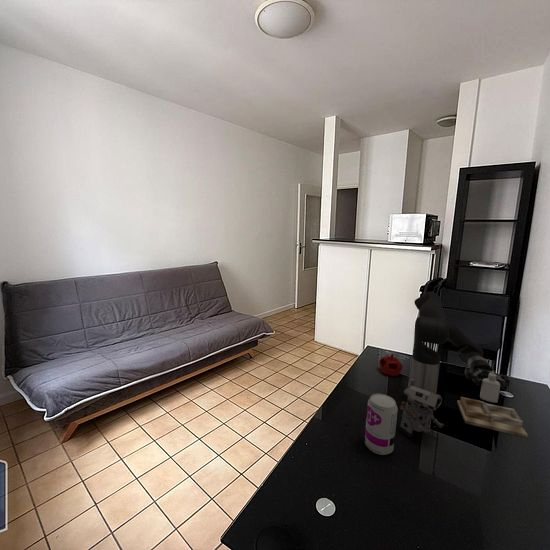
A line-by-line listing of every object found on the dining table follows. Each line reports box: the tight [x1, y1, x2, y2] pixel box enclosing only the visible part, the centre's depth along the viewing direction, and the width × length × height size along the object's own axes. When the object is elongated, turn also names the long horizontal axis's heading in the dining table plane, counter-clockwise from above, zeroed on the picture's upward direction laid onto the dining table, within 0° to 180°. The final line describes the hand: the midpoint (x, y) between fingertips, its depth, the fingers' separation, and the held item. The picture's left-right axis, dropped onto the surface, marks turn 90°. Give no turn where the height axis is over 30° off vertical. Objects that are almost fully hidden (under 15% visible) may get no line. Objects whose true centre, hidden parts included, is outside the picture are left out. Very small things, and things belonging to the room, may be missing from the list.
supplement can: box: [364, 393, 399, 456], centre depth 85 cm, size 8×8×15 cm
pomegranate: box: [378, 353, 404, 377], centre depth 131 cm, size 10×10×9 cm
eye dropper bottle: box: [479, 370, 501, 404], centre depth 111 cm, size 4×6×12 cm
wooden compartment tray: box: [456, 396, 529, 439], centre depth 100 cm, size 17×13×3 cm
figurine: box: [398, 385, 449, 438], centre depth 91 cm, size 9×12×15 cm
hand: (491, 385), depth 110 cm, fingers open, 8 cm apart
